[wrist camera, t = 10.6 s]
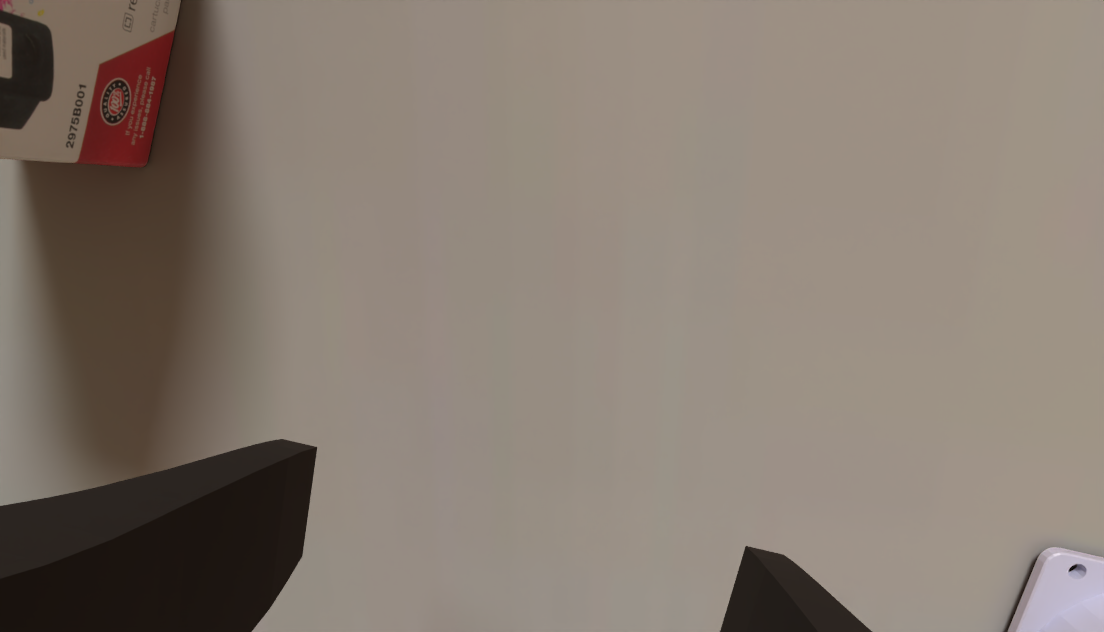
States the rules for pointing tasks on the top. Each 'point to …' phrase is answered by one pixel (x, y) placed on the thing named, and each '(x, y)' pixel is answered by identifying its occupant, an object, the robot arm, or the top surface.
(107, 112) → the ink box
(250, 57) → the top surface
